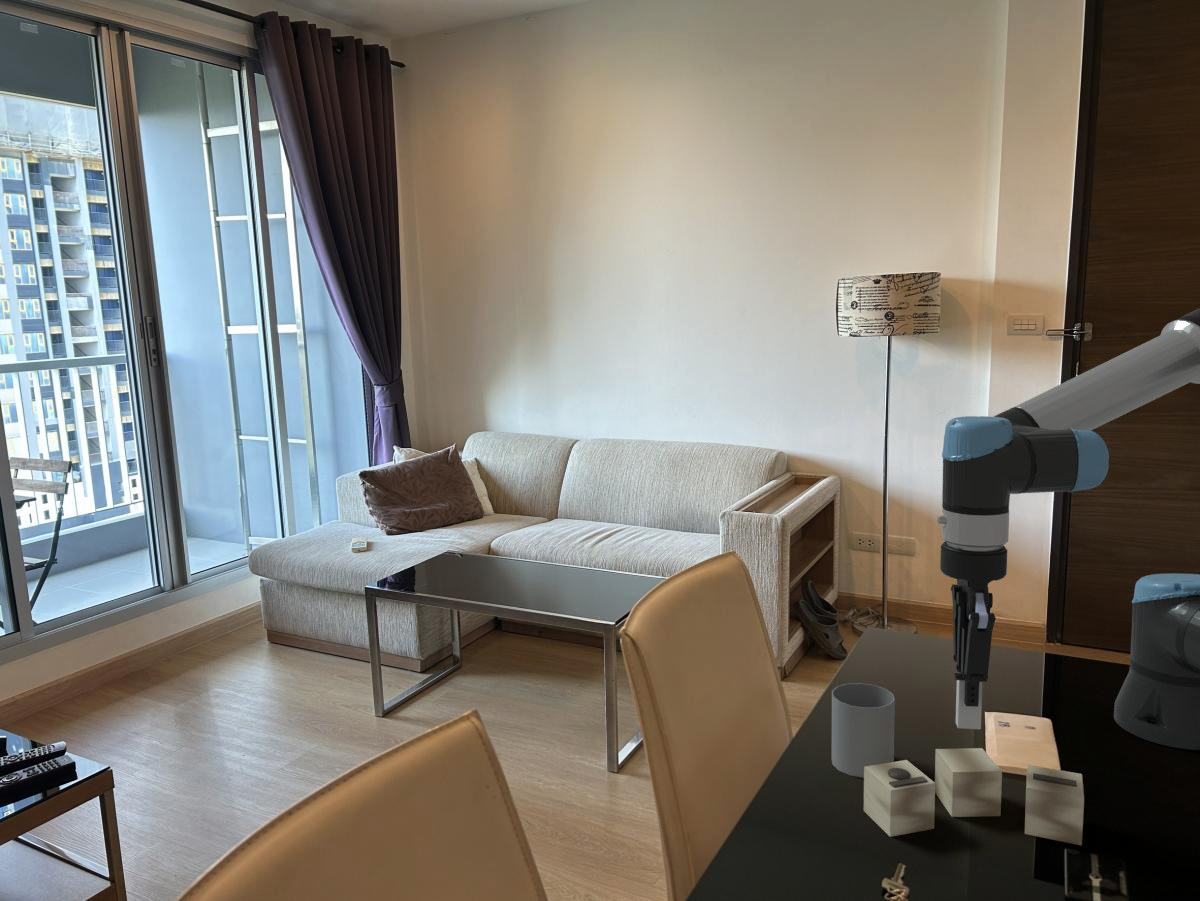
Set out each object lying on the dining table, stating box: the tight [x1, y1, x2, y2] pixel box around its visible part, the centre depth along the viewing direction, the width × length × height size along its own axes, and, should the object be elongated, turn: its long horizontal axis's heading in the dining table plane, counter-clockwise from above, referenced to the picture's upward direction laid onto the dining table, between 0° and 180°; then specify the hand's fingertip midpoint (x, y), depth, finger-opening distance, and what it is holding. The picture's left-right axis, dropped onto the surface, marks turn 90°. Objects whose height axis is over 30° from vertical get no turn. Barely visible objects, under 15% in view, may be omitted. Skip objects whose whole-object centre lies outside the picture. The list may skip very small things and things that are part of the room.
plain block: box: [934, 747, 1003, 818], centre depth 112 cm, size 6×6×6 cm
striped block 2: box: [1024, 764, 1085, 846], centre depth 106 cm, size 6×6×6 cm
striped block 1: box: [863, 759, 936, 838], centre depth 109 cm, size 6×6×6 cm
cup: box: [831, 682, 896, 779], centre depth 123 cm, size 8×8×10 cm
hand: (968, 725), depth 111 cm, fingers closed
